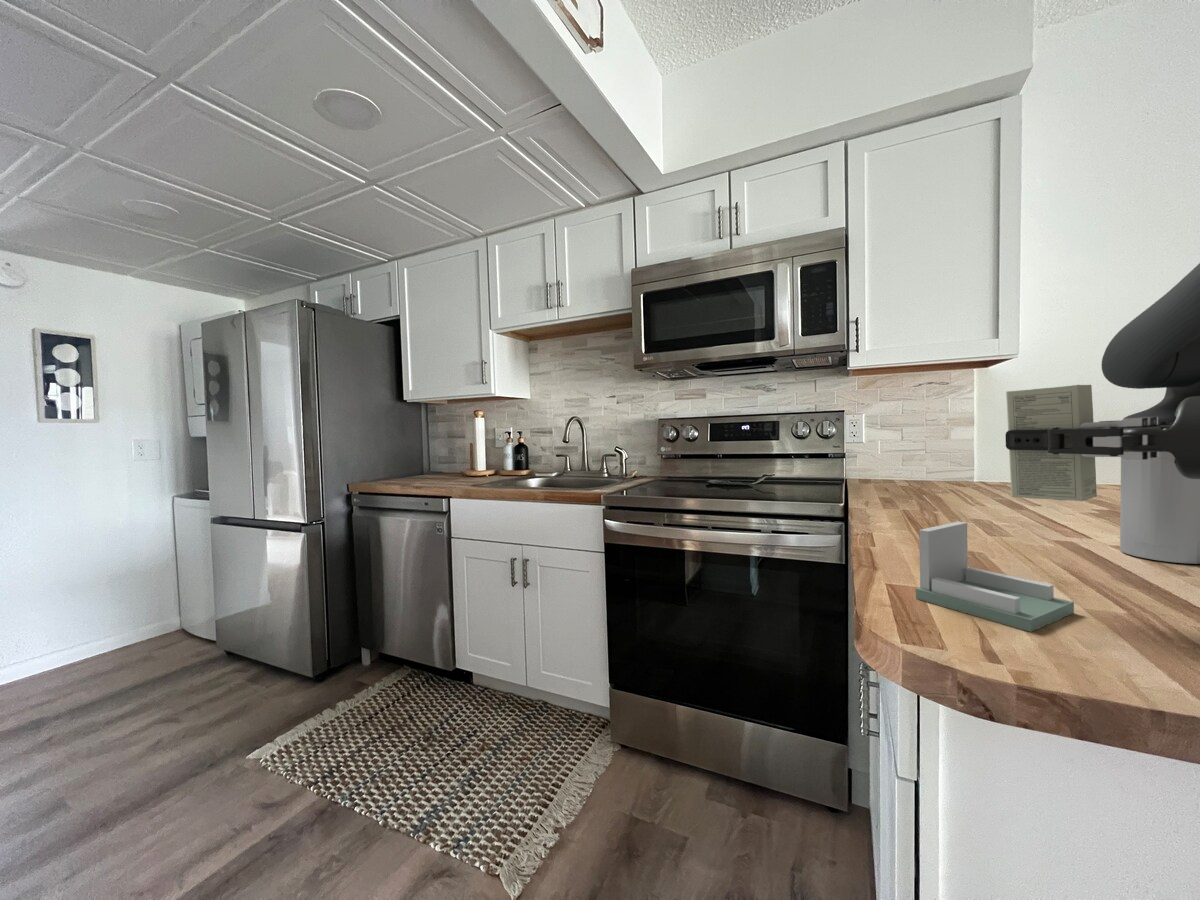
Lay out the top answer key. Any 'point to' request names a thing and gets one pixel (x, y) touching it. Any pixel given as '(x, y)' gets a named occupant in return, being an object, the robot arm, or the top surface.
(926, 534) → the deck socket
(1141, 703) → the top surface
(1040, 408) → the skincare box
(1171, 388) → the robot arm
